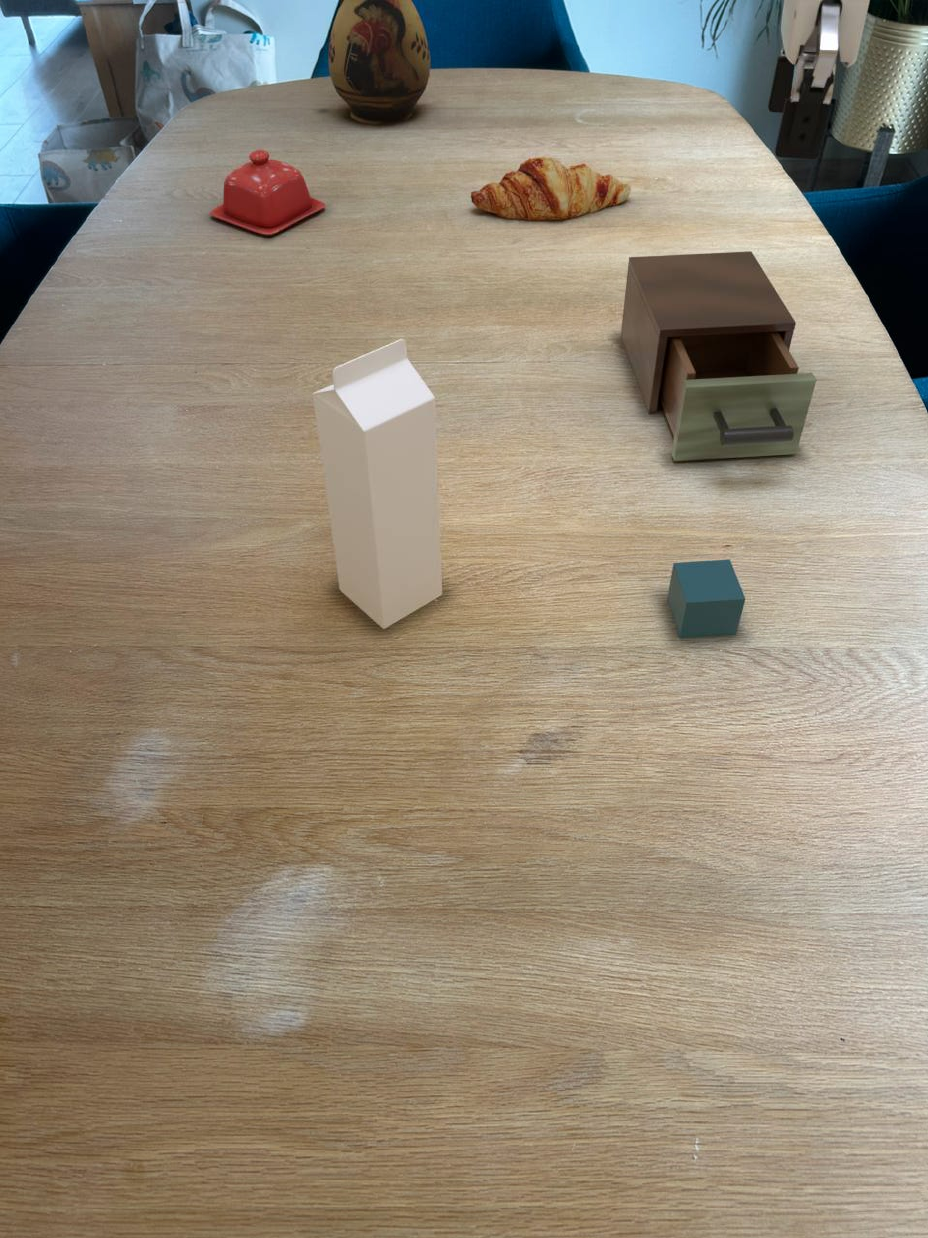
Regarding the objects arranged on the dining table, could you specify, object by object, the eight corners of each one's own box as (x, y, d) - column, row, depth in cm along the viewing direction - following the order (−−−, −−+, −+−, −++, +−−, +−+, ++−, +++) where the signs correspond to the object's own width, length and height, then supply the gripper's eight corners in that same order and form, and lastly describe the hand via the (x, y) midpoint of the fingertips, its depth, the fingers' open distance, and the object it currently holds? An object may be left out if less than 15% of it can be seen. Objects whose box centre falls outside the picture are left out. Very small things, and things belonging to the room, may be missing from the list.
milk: (339, 594, 81) (303, 350, 65) (398, 561, 84) (377, 319, 68) (385, 635, 77) (358, 388, 62) (445, 599, 80) (433, 353, 65)
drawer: (811, 482, 89) (833, 407, 83) (684, 489, 88) (698, 414, 83) (754, 375, 101) (770, 303, 96) (643, 381, 101) (653, 309, 95)
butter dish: (269, 245, 125) (258, 176, 119) (206, 222, 130) (193, 155, 124) (331, 213, 132) (324, 146, 126) (269, 192, 137) (259, 127, 131)
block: (720, 600, 80) (729, 559, 77) (735, 639, 77) (745, 598, 74) (665, 603, 80) (673, 562, 76) (678, 643, 76) (686, 602, 73)
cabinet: (774, 411, 98) (796, 322, 91) (647, 419, 98) (660, 329, 91) (734, 336, 108) (751, 250, 102) (619, 342, 108) (629, 256, 101)
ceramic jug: (445, 104, 160) (440, -126, 139) (413, 139, 150) (401, -104, 129) (347, 94, 164) (327, -131, 143) (309, 127, 154) (281, -110, 132)
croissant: (619, 220, 137) (617, 156, 135) (643, 213, 127) (642, 144, 125) (467, 230, 134) (462, 166, 132) (480, 224, 125) (475, 154, 122)
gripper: (930, -108, 61) (852, 179, 73) (891, -155, 73) (829, 98, 85) (803, -112, 61) (747, 173, 74) (785, -158, 73) (739, 93, 86)
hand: (791, 133), depth 79 cm, fingers open, 9 cm apart
